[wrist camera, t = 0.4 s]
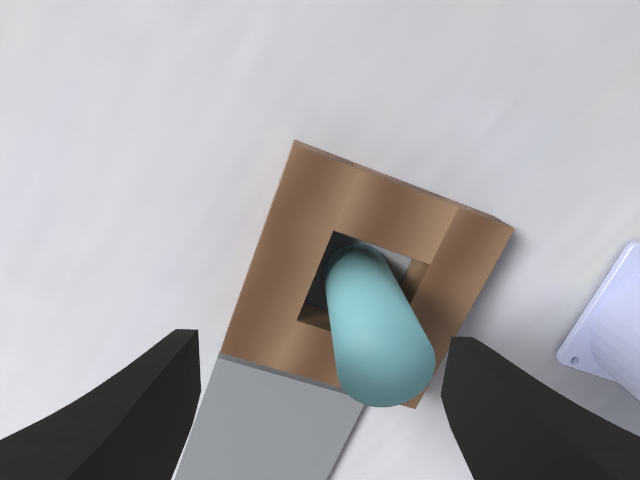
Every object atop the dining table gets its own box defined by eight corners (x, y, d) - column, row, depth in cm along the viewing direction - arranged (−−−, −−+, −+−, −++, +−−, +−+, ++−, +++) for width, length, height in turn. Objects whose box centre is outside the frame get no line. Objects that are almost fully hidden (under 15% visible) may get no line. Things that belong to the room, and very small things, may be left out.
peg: (398, 256, 22) (452, 340, 14) (372, 311, 23) (409, 417, 15) (338, 234, 21) (359, 310, 13) (314, 292, 22) (321, 392, 14)
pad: (365, 393, 24) (366, 400, 24) (307, 509, 27) (307, 517, 27) (219, 351, 23) (217, 357, 22) (175, 478, 26) (172, 486, 25)
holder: (493, 216, 21) (514, 228, 19) (405, 382, 24) (415, 409, 22) (294, 139, 19) (293, 144, 17) (227, 329, 22) (220, 352, 20)
